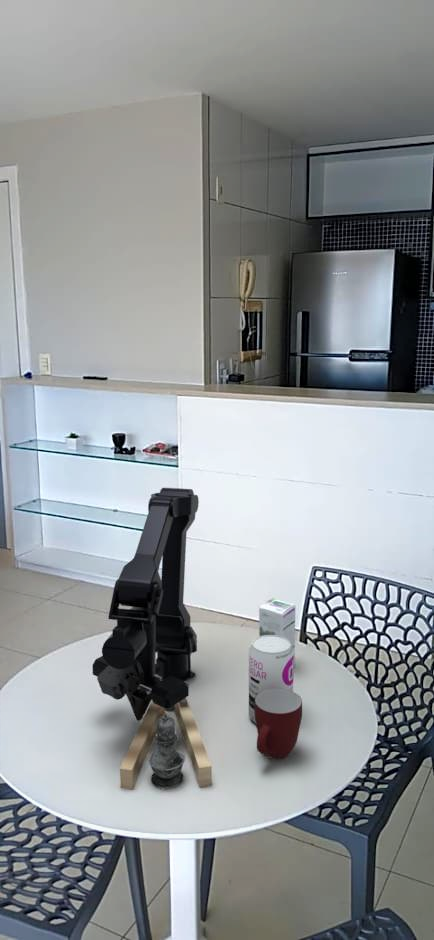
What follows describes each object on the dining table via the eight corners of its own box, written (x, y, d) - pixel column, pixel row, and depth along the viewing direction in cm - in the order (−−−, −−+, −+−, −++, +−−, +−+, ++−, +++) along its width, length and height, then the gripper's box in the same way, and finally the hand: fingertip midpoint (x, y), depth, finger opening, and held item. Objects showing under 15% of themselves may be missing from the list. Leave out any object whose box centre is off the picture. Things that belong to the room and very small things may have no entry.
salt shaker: (149, 768, 122) (147, 703, 120) (184, 765, 123) (183, 701, 120) (149, 791, 117) (146, 723, 114) (186, 788, 117) (184, 721, 114)
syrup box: (295, 666, 155) (296, 603, 152) (281, 678, 151) (282, 612, 147) (272, 659, 159) (273, 596, 155) (257, 670, 154) (258, 606, 150)
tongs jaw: (154, 712, 139) (154, 695, 138) (165, 713, 138) (164, 696, 137) (120, 787, 118) (119, 768, 117) (132, 789, 117) (131, 769, 116)
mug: (287, 781, 119) (288, 726, 116) (241, 768, 122) (241, 714, 120) (307, 745, 128) (308, 694, 126) (264, 734, 131) (264, 684, 129)
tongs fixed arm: (163, 705, 141) (162, 684, 140) (182, 702, 142) (182, 681, 141) (188, 789, 117) (187, 764, 116) (211, 785, 118) (211, 760, 117)
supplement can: (298, 710, 139) (299, 638, 135) (283, 734, 132) (284, 657, 128) (258, 701, 142) (259, 630, 139) (241, 723, 135) (241, 649, 131)
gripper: (68, 642, 129) (70, 721, 132) (147, 677, 118) (147, 762, 122) (114, 620, 137) (114, 695, 141) (191, 651, 126) (189, 731, 130)
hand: (139, 720), depth 133 cm, fingers closed
